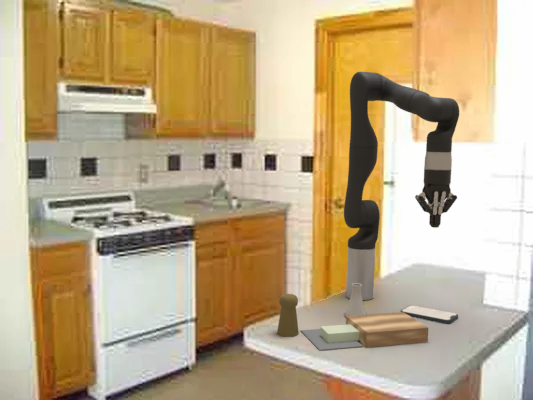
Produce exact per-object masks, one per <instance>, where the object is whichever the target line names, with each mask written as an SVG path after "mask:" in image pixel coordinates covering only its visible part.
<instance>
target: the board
mask: <svg viewBox="0 0 533 400" xmlns="http://www.w3.org/2000/svg"><path fill="white" fill-rule="evenodd" d="M348 324H351V325H352V326H354V327H355V328H356V329H357V330H358V331H360V337H359V341H358V342H359V343H360V344H361V345H362V344H363V345H362V346H364V347H366V348H374V347H375V348H376V347H384V346H397V345H398V344H399V345H408V344H419V343H420V344H421V343H428V341H429V327H428V326H427V325H425V324H424V323H422V322H421V321H419V320H416V319H415V317H411V316H409V315H407V314H406V313H404V312H400V311H399V312H398V311H397V312H387V313H386V312H385V313H372V314H367V315H355V316H346V317H345V325H348ZM399 345H398V346H399Z"/></svg>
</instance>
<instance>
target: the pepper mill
mask: <svg viewBox="0 0 533 400" xmlns="http://www.w3.org/2000/svg"><path fill="white" fill-rule="evenodd" d="M278 303H279V305H280V312H279V313H280V314H279V318H278V325H277V335H278V336H281V337H285V338H293V337H297V336H298V335H299V333H300V332H299V323H298V314H297V306H298V303H299V299H298V296H297V295H296V294H293V293H283V294H282V295H280V296H279V299H278Z"/></svg>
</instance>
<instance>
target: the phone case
mask: <svg viewBox="0 0 533 400" xmlns="http://www.w3.org/2000/svg"><path fill="white" fill-rule="evenodd" d="M399 312H404V313H406V314H407V315H409V316H410V317H412V318H415V317H416V318H417V319H421V320H426V321H429V320H430V321H431V322H434V321H435V322H434V323H438V324H439V323H440V324H444V325H450V324H453V323H454V322H455V321H456V320H458V319H459V314H458V313H454V312H449V311H446V310H445V311H444V310H438V309H433V308H428V307H422V306H417V305H408V306H407V307H405V308H403V309H401V310H400V311H399Z"/></svg>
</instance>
